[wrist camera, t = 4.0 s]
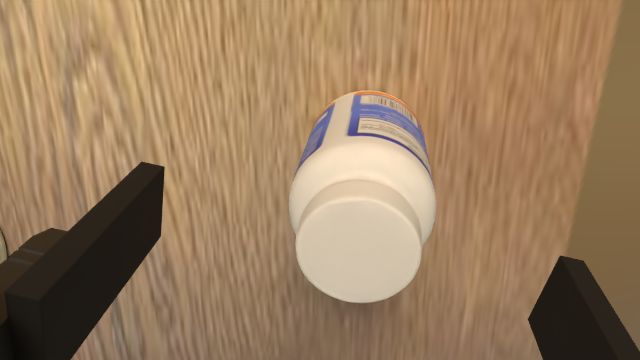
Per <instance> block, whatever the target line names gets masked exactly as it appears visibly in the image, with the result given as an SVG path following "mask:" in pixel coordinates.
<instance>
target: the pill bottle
mask: <svg viewBox="0 0 640 360" xmlns="http://www.w3.org/2000/svg"><path fill="white" fill-rule="evenodd" d="M289 214H290V220H291V224H292V227H293V230H294V232H295V234H296V236H297V237H296V245H295V248H296V256H297V260H298V263H299V266H300V268H301V270H302V272H303V273H304V275H305V276H306V278H307V279H308V280H309V281H310V282H311V283H312V284H313V285H314V286H315V287H316V288H318V289H319V290H321V291H322V292H323V293H325V294H327V295H329V296H331V297H333V298H336V299H339V300H342V301H347V302H352V303H370V302H376V301H381V300H384V299H387V298H389V297H391V296H393V295H395V294H397V293H398V292H400V291H401V290H402V289H404V288H405V287H406V286H407V285H408V284H409V283H410V282H411V280H412V279H413V278H414V276H415V274H416V273H417V270H418V268H419V265H420V261H421V253H422V247H423V246H424V244H425V243H426V241H427V240H428V238H429V236H430V234H431V232H432V229H433V226H434V222H435V216H436V197H435V191H434V185H433V180H432V175H431V170H430V165H429V160H428V155H427V150H426V145H425V140H424V135H423V131H422V128H421V125H420V123H419V121H418V119H417V117H416V116H415V114H414V113H413V111H412V110H411V109H410V108H409V107H408V106H407V105H406V104H405V103H404V102H403V101H401V100H399V99H398V98H396V97H394V96H392V95H390V94H387V93H384V92H380V91H372V90H365V91H356V92H352V93H348V94H346V95H343V96H341V97H339V98H337V99H335V100H334V101H333V102H331V103H330V104H329V105H328V106H327V107H326V108H325V109H324V110H323V111H322V112H321V114H320V115H319V117H318V118H317V120H316V122H315V124H314V126H313V128H312V131H311V134H310V137H309V139H308V142H307V145H306V147H305V150H304V153H303V155H302V158H301V161H300V163H299V166H298V169H297V171H296V174H295V176H294V180H293V183H292V186H291V190H290V195H289Z"/></svg>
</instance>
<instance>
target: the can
mask: <svg viewBox="0 0 640 360" xmlns="http://www.w3.org/2000/svg"><path fill="white" fill-rule="evenodd" d="M4 260H7V251H6V245H5V241H4V238H3V235H2V233H1V231H0V264H1V263H2V262H3V261H4Z"/></svg>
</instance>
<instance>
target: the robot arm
mask: <svg viewBox="0 0 640 360" xmlns="http://www.w3.org/2000/svg"><path fill="white" fill-rule="evenodd" d="M163 186H164V167H163V166H159V165H154V164H150V163H145V162H141V163H140V164H139V165H138V166H137V167H136V168H134V169H133V170H132V171H131V172H130V173H129V174H128V175H127V176H126V177H125V178H124V179H123V180H122V181H121V182H120V183H119V184H118V185H117V186H115V187H114V188H113V189H112V190H111V191H110V192H109V193H108V194H107V195H106V196H105V197H104V198H103V199H102V200H101V201H100V202H99V203H98V204H96V205H95V206H94V207H93V208H92V209H91V210H90V211H89V212H88V213H87V214H86V215H85V216H84V217H83V218H82V219H81V220H80V221H78V222H77V223H76V224H75V225H74V226H73V227H72V228H71V229H70V230H69V231H68V232H67V231H63V230H59V229H54V228H50V229H48V230H46V231H43V232H41V233H39V234H37V235H34V236H32V237H31V238H30V239H29V240H28V241H26V242H25V243H24V244H23V245H22V246H21V247H20V248H19V250H18V251H17V250H16V251H15V252H14V253H13V254H11V255H10V256H9V257H8V259H7V260H4V261H3V262H2V263H1V264H0V360H70V359H71V358H72V357H73V355H74V354H75V353H76V351H77V350H78V349H79V347H80V346H81V344H82V343H83V342H84V340H85V339H86V338H87V336H88V335H89V334H90V332H91V331H92V329H93V328H94V327H95V325H96V324H97V323H98V321H99V320H100V319H101V317H102V316H103V314H104V313H105V312H106V310H107V309H108V308H109V306H110V305H111V303H112V302H113V301H114V299H115V298H116V297H117V295H118V294H119V293H120V291H121V290H122V288H123V287H124V286H125V284H126V283H127V282H128V280H129V279H130V278H131V276H132V275H133V273H134V272H135V271H136V269H137V268H138V267H139V265H140V264H141V263H142V261H143V260H144V258H145V257H146V256H147V254H148V253H149V252H150V250H151V249H152V248H153V246H154V245H155V243H156V242H157V241H158V239H159V238H160V237H161V223H162V204H163ZM528 321H529V324H530V326H531V329H532V331H533V334H534V337H535V339H536V342H537V345H538V347H539V350H540V353H541V355H542V358H543V360H640V351H639V350H638V348H637V347H636V345H635V343H634V342H633V340H632V339H631V337H630V335H629V334H628V332H627V330H626V329H625V327H624V325H623V324H622V322H621V321H620V319H619V317H618V316H617V314H616V313H615V311H614V309H613V308H612V306H611V304H610V303H609V301H608V300H607V298H606V296H605V295H604V293H603V291H602V290H601V288H600V287H599V285H598V284H597V282H596V280H595V279H594V277H593V276H592V274H591V272H590V270H589V269H588V267H587V266H586V264H585V262H584V261H582V260H578V259H573V258H569V257H565V256H560V257H559V259H558V261H557V263H556V265H555V267H554V269H553V271H552V273H551V275H550V277H549V278H548V280H547V282H546V284H545V286H544V288H543V290H542V292H541V294H540V296H539V298H538V300H537V302H536V304H535V306H534V308H533V310H532V312H531V314H530V316H529V318H528Z"/></svg>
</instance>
